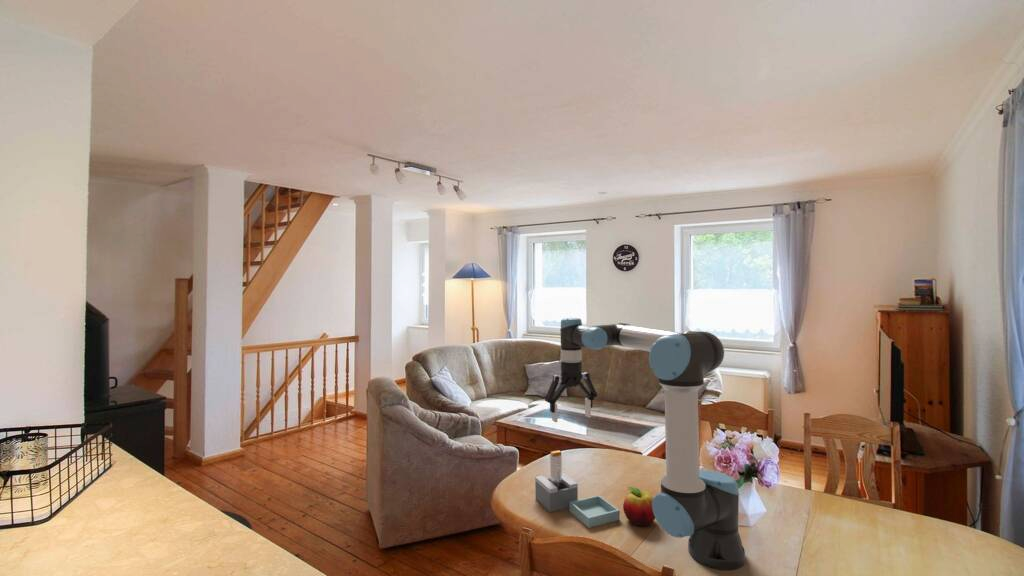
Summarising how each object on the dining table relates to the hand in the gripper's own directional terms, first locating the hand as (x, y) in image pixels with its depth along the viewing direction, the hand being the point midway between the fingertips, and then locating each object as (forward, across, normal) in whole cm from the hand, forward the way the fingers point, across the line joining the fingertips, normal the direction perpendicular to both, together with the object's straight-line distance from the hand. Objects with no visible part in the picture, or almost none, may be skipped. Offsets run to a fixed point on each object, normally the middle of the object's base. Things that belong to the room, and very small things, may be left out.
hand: (571, 418), depth 174 cm
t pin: (+29, +7, +2) cm, 30 cm away
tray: (+28, 0, +15) cm, 32 cm away
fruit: (+29, -12, +24) cm, 39 cm away
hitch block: (+29, +7, +2) cm, 30 cm away
